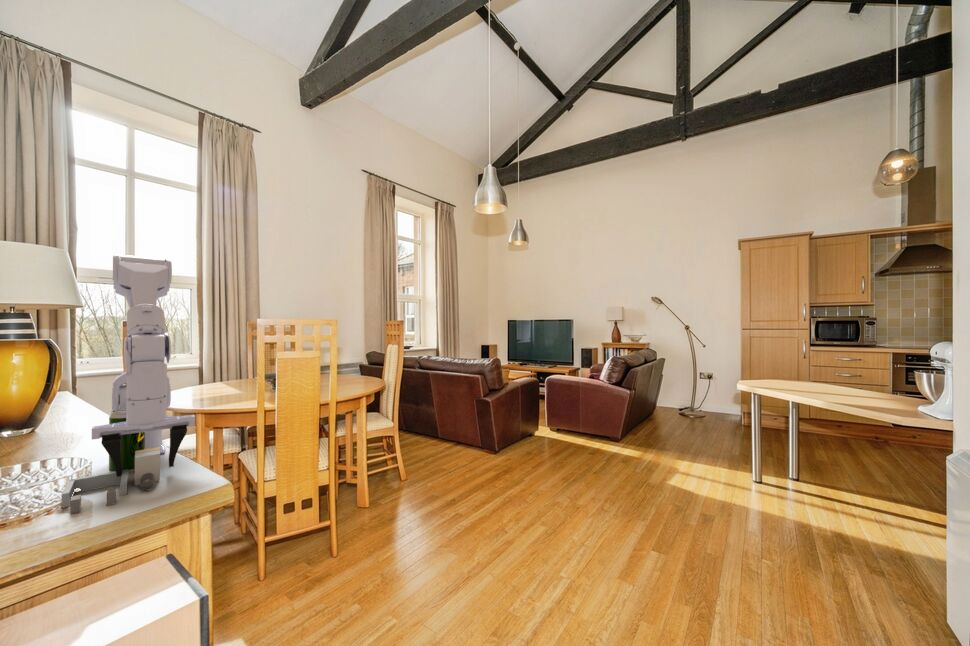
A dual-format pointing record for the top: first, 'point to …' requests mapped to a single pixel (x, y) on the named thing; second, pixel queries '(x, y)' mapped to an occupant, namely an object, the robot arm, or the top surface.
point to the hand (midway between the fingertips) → (146, 470)
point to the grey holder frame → (94, 483)
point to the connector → (147, 467)
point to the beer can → (127, 443)
